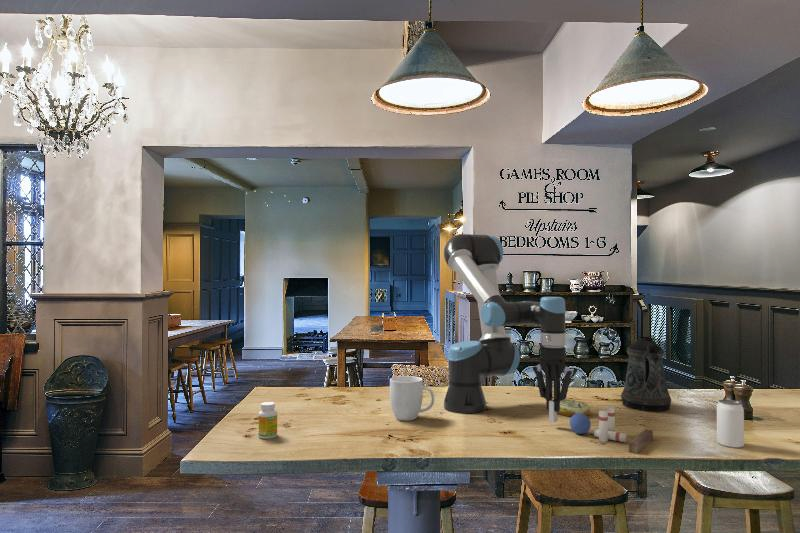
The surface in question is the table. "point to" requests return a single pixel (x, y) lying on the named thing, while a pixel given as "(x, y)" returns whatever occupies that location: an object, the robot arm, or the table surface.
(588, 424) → the ball
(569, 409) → the decorated donut
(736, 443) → the can
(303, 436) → the table surface
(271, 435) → the supplement bottle
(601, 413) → the pin back right
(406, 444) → the table surface
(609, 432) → the pin front
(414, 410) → the mug
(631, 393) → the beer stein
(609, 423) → the pin back left
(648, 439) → the rail
